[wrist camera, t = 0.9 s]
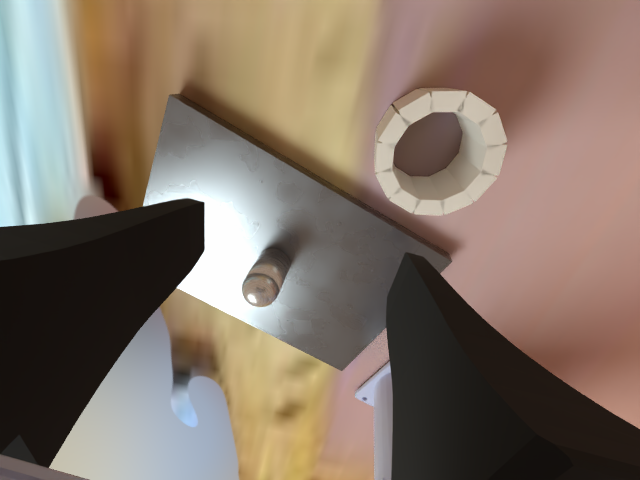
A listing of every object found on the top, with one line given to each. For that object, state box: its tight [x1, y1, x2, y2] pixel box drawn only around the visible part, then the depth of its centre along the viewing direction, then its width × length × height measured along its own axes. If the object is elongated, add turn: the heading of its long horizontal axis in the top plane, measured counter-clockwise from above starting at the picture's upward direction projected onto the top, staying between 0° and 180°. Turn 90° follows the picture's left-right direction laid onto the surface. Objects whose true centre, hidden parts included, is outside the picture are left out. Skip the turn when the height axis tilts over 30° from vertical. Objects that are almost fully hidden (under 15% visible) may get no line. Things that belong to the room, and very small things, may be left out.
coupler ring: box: [374, 88, 507, 216], centre depth 15 cm, size 6×6×4 cm
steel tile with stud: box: [143, 94, 452, 371], centre depth 20 cm, size 20×14×5 cm
